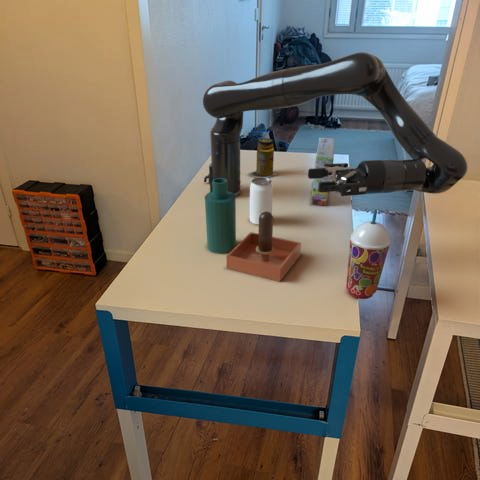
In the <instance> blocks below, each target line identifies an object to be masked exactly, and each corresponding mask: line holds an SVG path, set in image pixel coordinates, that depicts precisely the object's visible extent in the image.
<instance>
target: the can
mask: <svg viewBox="0 0 480 480" xmlns="http://www.w3.org/2000/svg"><path fill="white" fill-rule="evenodd" d="M273 195H274V187H273V183H272V180H271V179H270V178H269V177H268V178H255V177H254V178H253V179H251V184H250V186H249V221H250V223H251V224H253V225H256V226H259V216H260V214H261V213H263V212H270V213H271V214H272V215H273V197H274V196H273Z"/></svg>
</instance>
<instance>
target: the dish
mask: <svg viewBox="0 0 480 480" xmlns="http://www.w3.org/2000/svg"><path fill="white" fill-rule="evenodd" d="M258 237H259V232H258V233H257V232H253V231H250V232H249V233H248V234H247V235H246V236H245V237H244V238H243V239H242V240H241V241H240V242H239V243H237V244H236V247H235V248H234V249H233V250H232V251H231V252H228V253H227V254H226V256H225V257H226V269H227V270H230V271H231V270H232V271H236V272H238V273H239V272H240V273H244V274H247V275H250V276H251V275H252V276H256V277H260V278H263V279H268V280H270V281H271V280H272V281H276V282H281V281H282V279H283V278H284V277H285V276H286V274H287V273H288V272H289V271H290V269H291V268H292V267H293V265H294V264H295V263H296V261H297V260H298V259H299V258H300V256H301V251H302V250H301V249H302V242H299V241H295V240H290V239H286V238H282V237H276V236H272V246H273V247H274V253H273V254H271V255H269V260H268V261H266V262H264V261H261V255H260V254H258V253H257V252H256V247H257V246H258Z"/></svg>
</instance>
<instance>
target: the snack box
mask: <svg viewBox="0 0 480 480" xmlns="http://www.w3.org/2000/svg"><path fill="white" fill-rule="evenodd" d="M334 156H335V138H330V137H319V138H318V142H317V148H316V154H315V162H314V168H324V164H334V159H335V157H334ZM328 172H332V171H328ZM327 181H331V179H327V178H316V179H312V189H311V202H310V205H317V206H327V205H328V201H329V196H330V195H329V194H330V192H321V193H320V192H319V191H318V185H319V182H327Z"/></svg>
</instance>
